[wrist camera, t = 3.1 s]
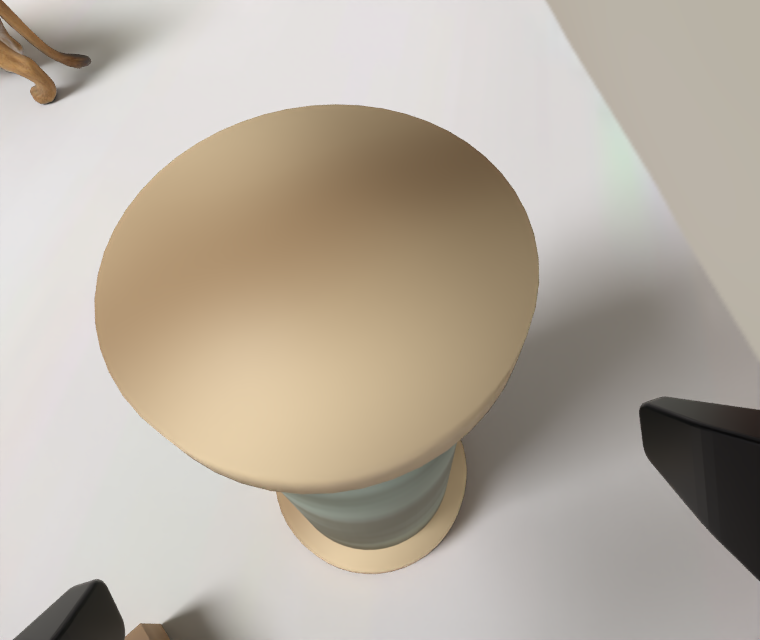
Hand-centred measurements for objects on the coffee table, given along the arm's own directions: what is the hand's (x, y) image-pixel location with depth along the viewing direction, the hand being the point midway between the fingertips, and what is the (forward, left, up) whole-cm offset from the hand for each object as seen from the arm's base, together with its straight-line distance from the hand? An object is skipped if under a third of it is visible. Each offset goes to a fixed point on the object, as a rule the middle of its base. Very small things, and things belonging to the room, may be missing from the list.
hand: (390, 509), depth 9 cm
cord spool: (+3, -1, -10) cm, 11 cm away
